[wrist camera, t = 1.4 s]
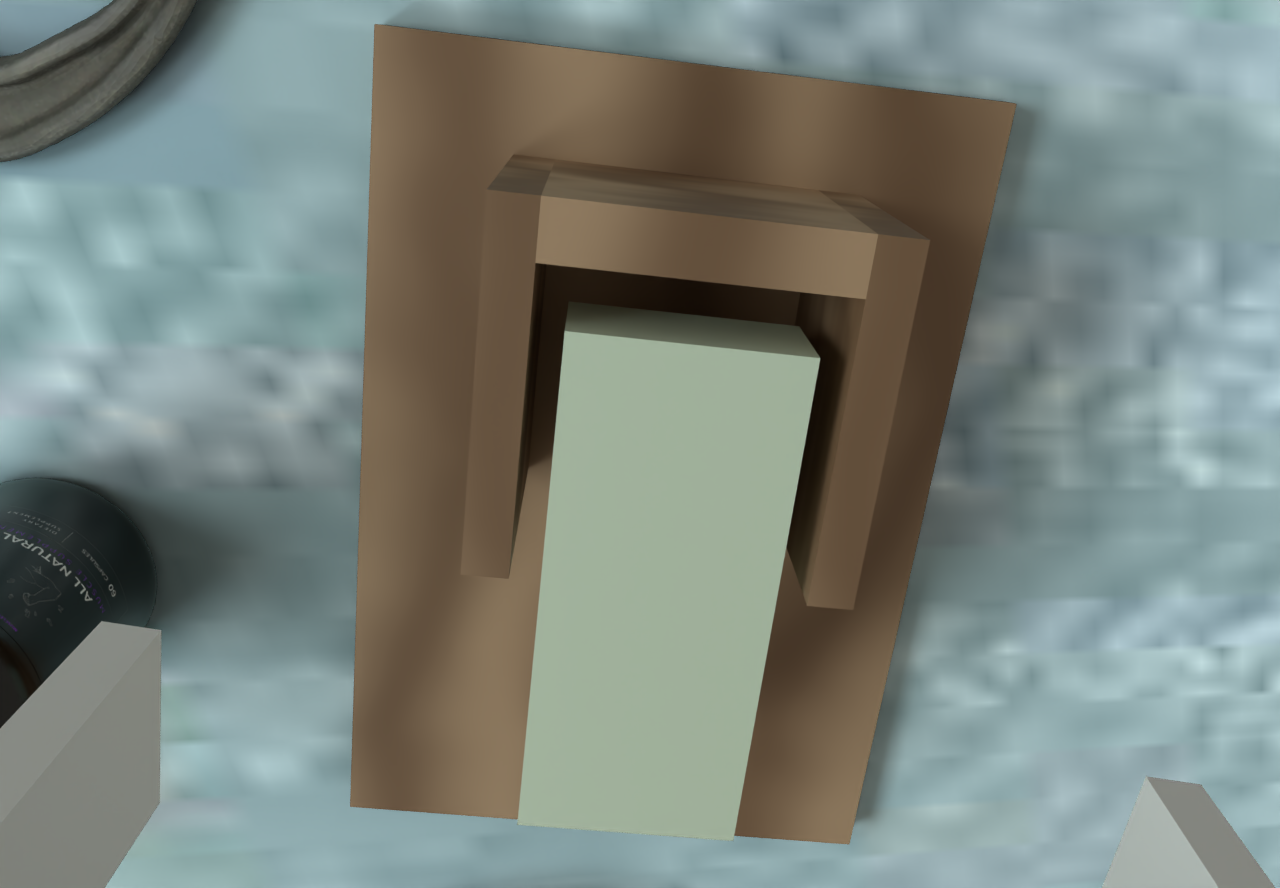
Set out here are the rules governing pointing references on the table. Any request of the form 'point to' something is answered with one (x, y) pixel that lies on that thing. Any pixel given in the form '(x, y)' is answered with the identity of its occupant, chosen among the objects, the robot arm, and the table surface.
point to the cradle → (660, 281)
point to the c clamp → (82, 72)
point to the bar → (661, 566)
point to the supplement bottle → (62, 578)
